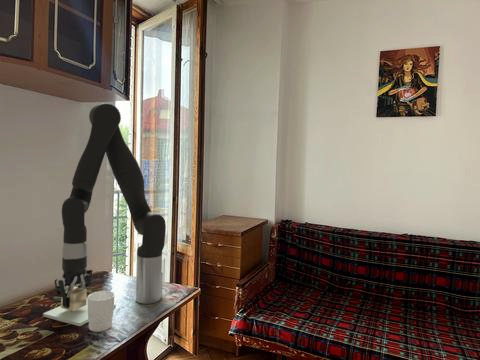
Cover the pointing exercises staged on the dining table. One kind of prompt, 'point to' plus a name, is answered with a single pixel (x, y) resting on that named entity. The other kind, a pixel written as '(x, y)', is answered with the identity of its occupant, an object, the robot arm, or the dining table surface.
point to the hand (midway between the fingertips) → (73, 304)
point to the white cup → (100, 310)
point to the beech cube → (76, 299)
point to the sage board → (70, 315)
